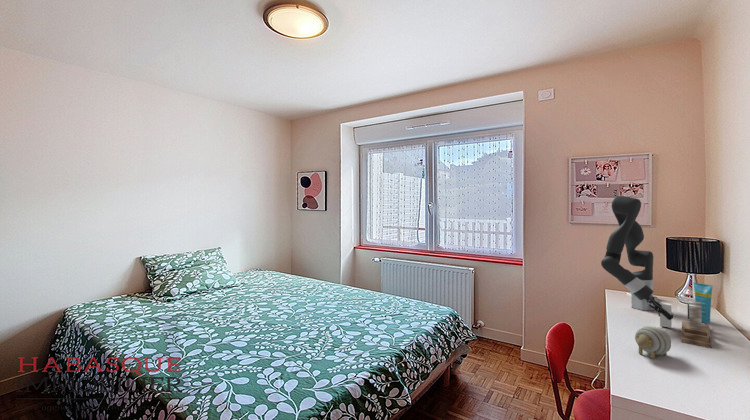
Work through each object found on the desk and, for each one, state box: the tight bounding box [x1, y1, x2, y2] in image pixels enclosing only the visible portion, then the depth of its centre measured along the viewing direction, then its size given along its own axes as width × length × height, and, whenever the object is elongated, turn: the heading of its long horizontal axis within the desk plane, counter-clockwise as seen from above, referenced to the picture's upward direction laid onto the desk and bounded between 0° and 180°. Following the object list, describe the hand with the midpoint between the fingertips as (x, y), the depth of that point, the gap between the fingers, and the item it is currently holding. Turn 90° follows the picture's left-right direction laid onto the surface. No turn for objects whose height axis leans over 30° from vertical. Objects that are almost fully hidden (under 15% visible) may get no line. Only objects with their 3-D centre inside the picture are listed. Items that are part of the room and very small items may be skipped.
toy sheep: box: [634, 326, 672, 360], centre depth 126 cm, size 11×17×11 cm, turn 114°
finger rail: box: [680, 300, 712, 349], centre depth 144 cm, size 9×28×12 cm, turn 135°
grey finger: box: [658, 301, 673, 329], centre depth 153 cm, size 4×3×11 cm, turn 45°
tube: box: [693, 282, 713, 324], centre depth 159 cm, size 7×5×19 cm, turn 23°
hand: (671, 317), depth 151 cm, fingers closed on grey finger, 3 cm apart
